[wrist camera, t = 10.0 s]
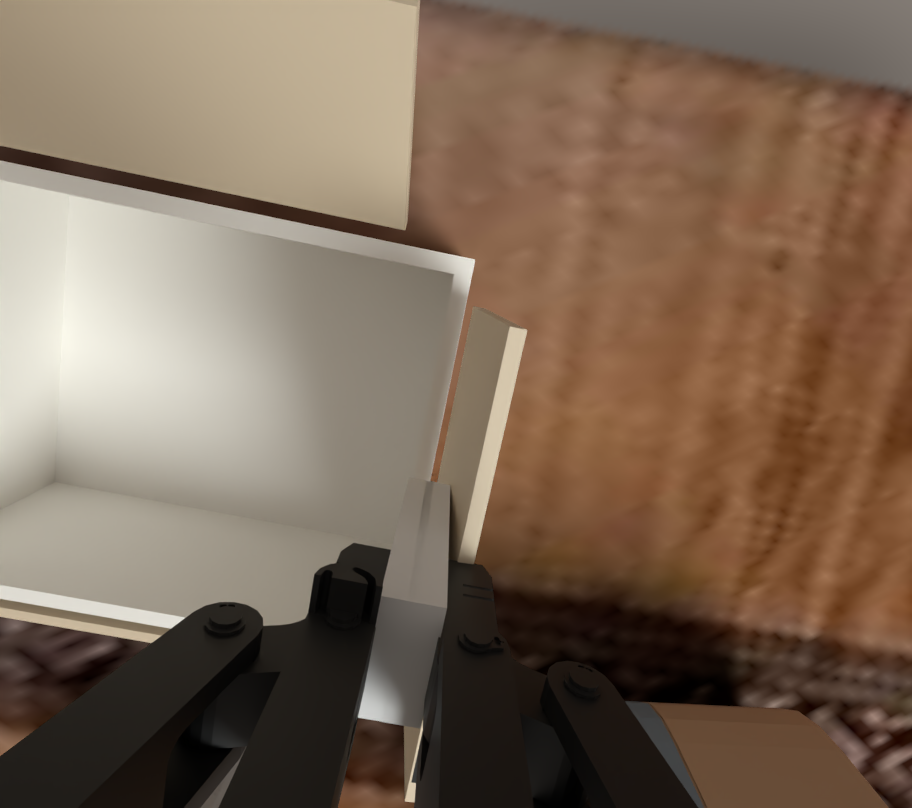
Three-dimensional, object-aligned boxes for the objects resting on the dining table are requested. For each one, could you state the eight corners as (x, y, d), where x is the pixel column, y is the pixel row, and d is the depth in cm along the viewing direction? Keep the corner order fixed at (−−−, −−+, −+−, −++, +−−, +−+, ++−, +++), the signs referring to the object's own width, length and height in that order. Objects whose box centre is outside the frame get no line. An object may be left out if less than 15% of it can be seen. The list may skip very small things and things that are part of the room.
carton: (37, 495, 31) (-146, 591, 22) (51, 178, 28) (-161, 126, 18) (408, 563, 32) (389, 684, 23) (468, 265, 28) (475, 259, 19)
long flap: (-349, -167, 11) (-336, -179, 11) (-81, 128, 18) (-74, 119, 18) (416, 7, 12) (420, -6, 12) (405, 230, 18) (407, 220, 18)
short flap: (404, 801, 15) (419, 802, 15) (509, 326, 13) (527, 329, 13) (403, 647, 22) (413, 648, 22) (473, 306, 19) (485, 308, 19)
